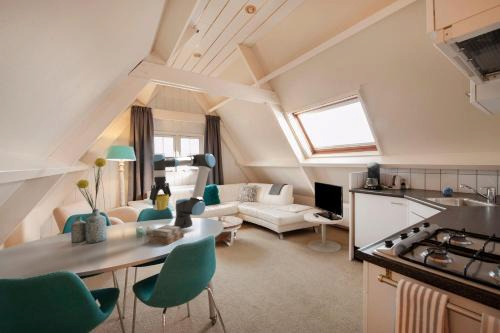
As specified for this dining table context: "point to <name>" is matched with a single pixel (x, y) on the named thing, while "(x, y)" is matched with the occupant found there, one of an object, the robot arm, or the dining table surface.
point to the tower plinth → (167, 240)
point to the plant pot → (162, 201)
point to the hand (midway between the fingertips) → (161, 207)
